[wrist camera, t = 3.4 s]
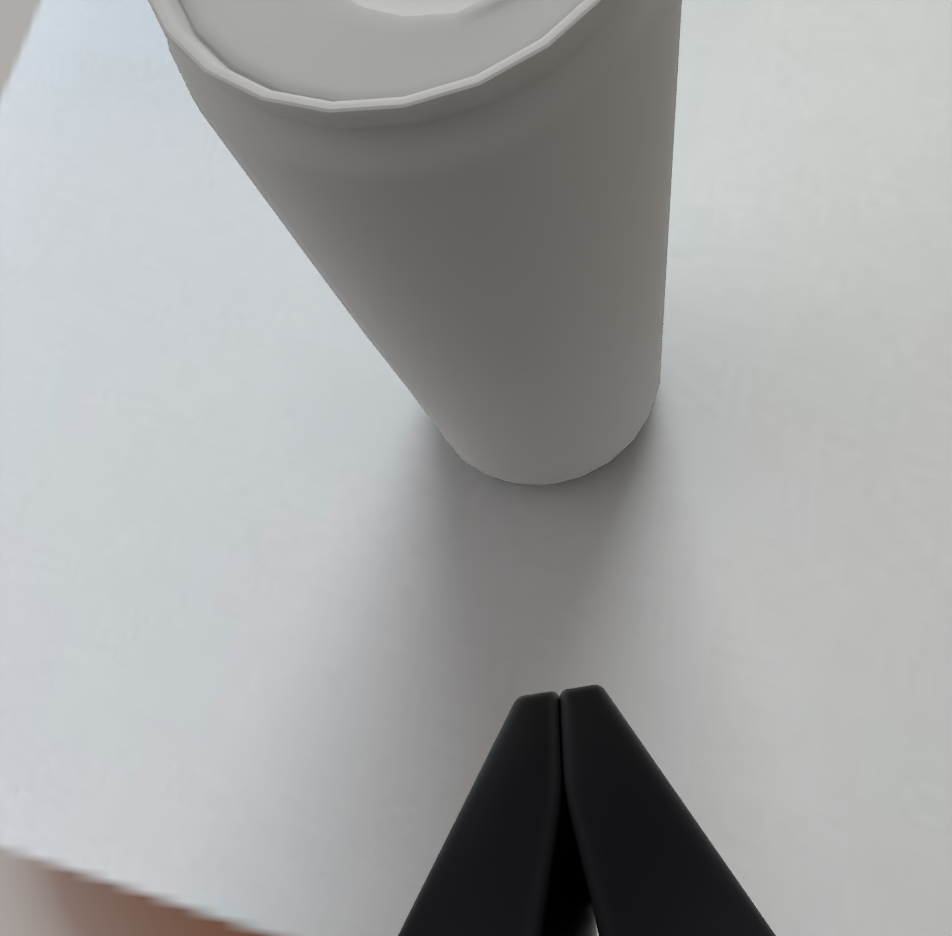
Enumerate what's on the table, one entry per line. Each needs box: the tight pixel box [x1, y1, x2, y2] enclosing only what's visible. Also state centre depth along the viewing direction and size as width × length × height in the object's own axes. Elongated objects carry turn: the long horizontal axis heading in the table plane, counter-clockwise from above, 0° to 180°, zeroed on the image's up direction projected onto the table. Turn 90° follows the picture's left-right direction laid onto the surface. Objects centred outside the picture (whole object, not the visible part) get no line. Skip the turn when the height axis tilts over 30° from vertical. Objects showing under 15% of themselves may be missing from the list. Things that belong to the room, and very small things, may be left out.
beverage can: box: [148, 0, 682, 485], centre depth 13 cm, size 5×5×12 cm
